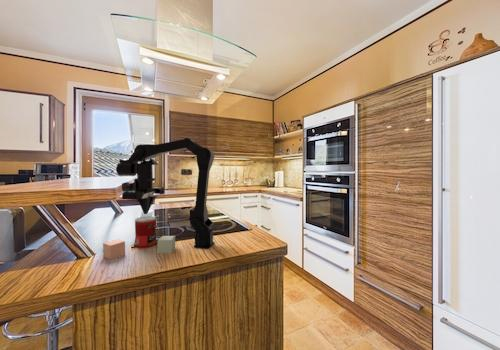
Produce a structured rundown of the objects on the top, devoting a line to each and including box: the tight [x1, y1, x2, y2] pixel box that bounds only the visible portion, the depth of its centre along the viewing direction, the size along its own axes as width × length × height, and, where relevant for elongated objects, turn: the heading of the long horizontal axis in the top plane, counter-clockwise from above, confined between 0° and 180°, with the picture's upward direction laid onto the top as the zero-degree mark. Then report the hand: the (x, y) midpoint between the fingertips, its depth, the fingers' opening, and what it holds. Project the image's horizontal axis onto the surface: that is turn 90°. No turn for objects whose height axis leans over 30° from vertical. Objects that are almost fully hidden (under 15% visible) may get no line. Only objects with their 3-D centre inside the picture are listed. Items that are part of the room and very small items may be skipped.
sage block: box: [157, 235, 176, 254], centre depth 83 cm, size 5×5×5 cm
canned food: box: [134, 215, 157, 249], centre depth 90 cm, size 8×8×11 cm
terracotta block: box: [102, 238, 126, 261], centre depth 79 cm, size 5×5×5 cm
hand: (145, 213), depth 89 cm, fingers closed
